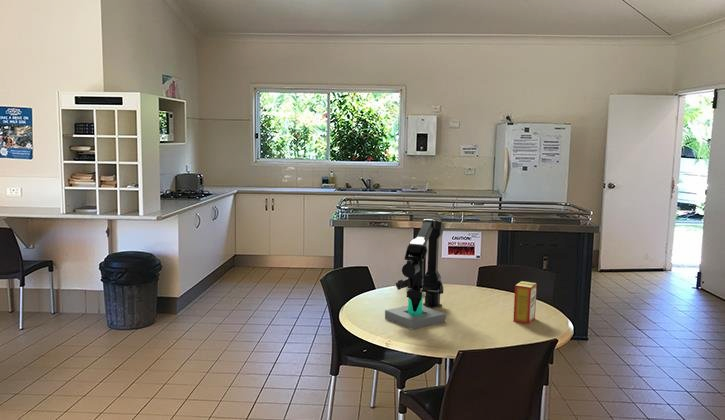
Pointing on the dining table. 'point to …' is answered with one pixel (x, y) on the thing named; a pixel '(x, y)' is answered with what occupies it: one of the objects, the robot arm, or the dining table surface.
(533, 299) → the baking soda box
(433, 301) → the robot arm
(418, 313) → the candle
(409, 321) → the socket block
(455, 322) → the dining table surface
